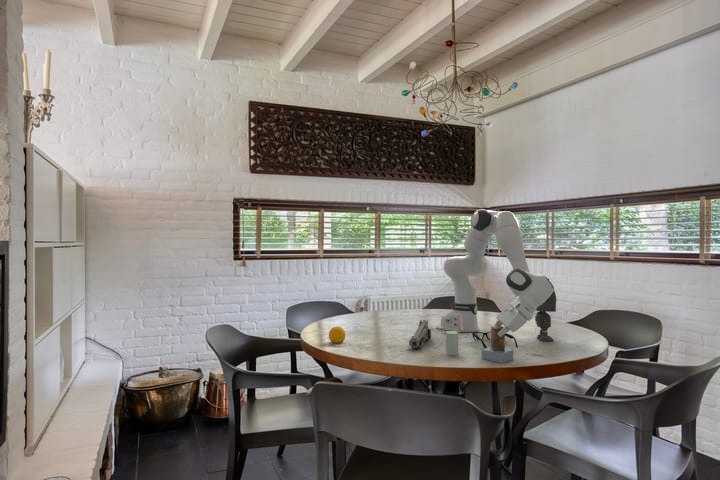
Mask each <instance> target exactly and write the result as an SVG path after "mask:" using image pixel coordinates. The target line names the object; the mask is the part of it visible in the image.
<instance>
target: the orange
mask: <svg viewBox="0 0 720 480" xmlns="http://www.w3.org/2000/svg"><path fill="white" fill-rule="evenodd" d="M328 332H329V333H328V339H329V340H330V342H331V343H334V344H341V343H343V342H344V341H346V337H347V336H346V330H345V329H344V328H343V327H341V326H333V327H331V329H330V330H329V331H328Z"/></svg>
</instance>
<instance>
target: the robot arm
mask: <svg viewBox="0 0 720 480" xmlns="http://www.w3.org/2000/svg"><path fill="white" fill-rule="evenodd" d="M492 235H495V239H496V242H497V244H498V246H499V249H500V250H501V251H502V253H503V254H504V255H505V257H506V258H507V259H508V261H509V262H510V265H511V267H512V270H511V271H510V272H509V273H508V274H507V275H506V278H505V282H506V285H507V287H508V288H509V290H510V291H511V292H512V293H513V295H514V296H515V298H514V299H512V301H510V302H509V306H507V307H505V308H504V309H502V311H501V312H499V313H498V314H497V316H496V317H495V318H496V320H497V321H496V322H495V324H494V325H493V326H502V325H503V326H502V327H503V329H502V330H499V331H498V332H497V334H498V335H499V336H500V337H502V336H503V335H504V334H505V333H507V334H508V333H509V332H510V331H511V332H512V333H515V332H517V331H518V330H519V329H521V327H523V326H524V325H525V324H526V323H528V321H529V322H530V321H531V320H532V319H533V318H534V317H533V315H534V313H535V312H536V309H537V307H538V306H540V305H542V304H543V303H544V302H545V301H546V300H547V299H548V298H549V297H550V296H551V294H552V293H553V291H555V287H554V284H553V283H552V282H551V281H550V278H549V279H548V277H547V276H546V275H545V274H535V273H531V272H530V271H529V270H530V269H529V266H528V263H527V260H526V259H527V258H526V255H525V254H526V253H525V248H524V240H523V236H522V230H521V228H520V224H519V221H518V218H517V217H516V216H515V214H514V213H513V212H511V211H510V210H509V211H508V210H504V211H499V210H489V209H485V208H483V209H482V208H481V209H477V210H475V211H474V212H473V214H472V215H471V227H470V229H469V230H468V233H467V236H466V238H465V240H464V243H463V246H464V249H465V250H466V254H465V255H460V256H459V255H457V256H456V255H455V256H451V257H448V258H446V259H445V260H444V263H443V271H444V273H445V275H447V276H448V277H449V278H450V279H451V282H452V284H453V288H454V289H453V290H454V302H452V303H451V304H450V307H451V309H449V310H448V311H447V312H446V313H444V314H443V315H442V317H441V319H440V323H439V324H437V325H436V327H435V328H436V329H439V330H444V331H457V333H469V332H470V333H471V332H472V333H473V332H480V327H479V324H478V322H479V321H478V316H477V315H478V303H477V289H476V287H475V286H474V284H471V282H470V279H469V278H470V277H478V276H481V275H483V274H486V272H487V270H488V262H487V260H486V259H485V252H486V249H487V247H488V244H489V242H490V240H491V238H492Z"/></svg>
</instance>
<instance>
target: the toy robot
mask: <svg viewBox="0 0 720 480" xmlns="http://www.w3.org/2000/svg"><path fill="white" fill-rule="evenodd" d="M547 278H548V277H547ZM548 279H549V280H550V278H548ZM536 311H537V312H536ZM535 312H536V313H535V314H536V315H535V316H534V317H535V318H534V320H535V323H536V327H538V328H540V330H539V334H537V337H536V338H537V340H538V342H543V343H553V342H555V340H554V338H553V337H551V336H549V335H548V334H549V333H548V329H550V328H551V327H552V317H551V315H550V314H549V313H551V312H552V313H553V312H554V313H555V312H557V296H556V291H555V290H554V291H553V293H552V294H551V296H550V297H549V298H548V299H547V300H546V301H545V302H544V303H543V304H542V305H540V306H538V307H537V309H536V310H535ZM548 312H549V313H548Z"/></svg>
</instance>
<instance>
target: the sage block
mask: <svg viewBox="0 0 720 480" xmlns="http://www.w3.org/2000/svg"><path fill="white" fill-rule="evenodd" d="M445 354H446V355H447V356H459V332H457V331H449V330H445Z"/></svg>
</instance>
